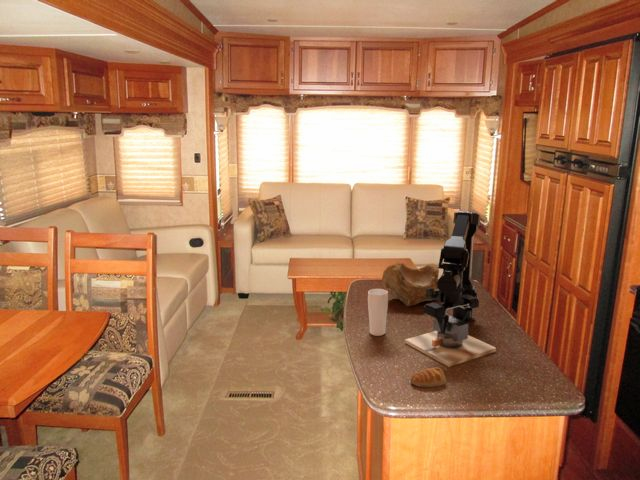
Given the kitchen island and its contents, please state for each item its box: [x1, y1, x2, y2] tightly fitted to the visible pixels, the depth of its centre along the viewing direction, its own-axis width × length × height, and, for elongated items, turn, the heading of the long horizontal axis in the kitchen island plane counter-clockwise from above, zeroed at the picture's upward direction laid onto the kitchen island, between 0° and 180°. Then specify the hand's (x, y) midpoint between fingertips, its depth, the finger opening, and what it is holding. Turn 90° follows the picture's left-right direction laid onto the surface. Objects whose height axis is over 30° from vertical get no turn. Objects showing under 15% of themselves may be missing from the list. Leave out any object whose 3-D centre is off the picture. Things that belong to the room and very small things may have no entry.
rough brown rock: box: [381, 261, 440, 307], centre depth 209 cm, size 23×17×15 cm
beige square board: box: [404, 330, 497, 368], centre depth 169 cm, size 20×20×1 cm
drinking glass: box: [367, 288, 389, 337], centre depth 178 cm, size 7×7×15 cm
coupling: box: [432, 313, 469, 348], centre depth 167 cm, size 11×11×8 cm
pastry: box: [410, 366, 447, 388], centre depth 147 cm, size 9×7×4 cm
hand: (450, 331), depth 168 cm, fingers open, 6 cm apart
